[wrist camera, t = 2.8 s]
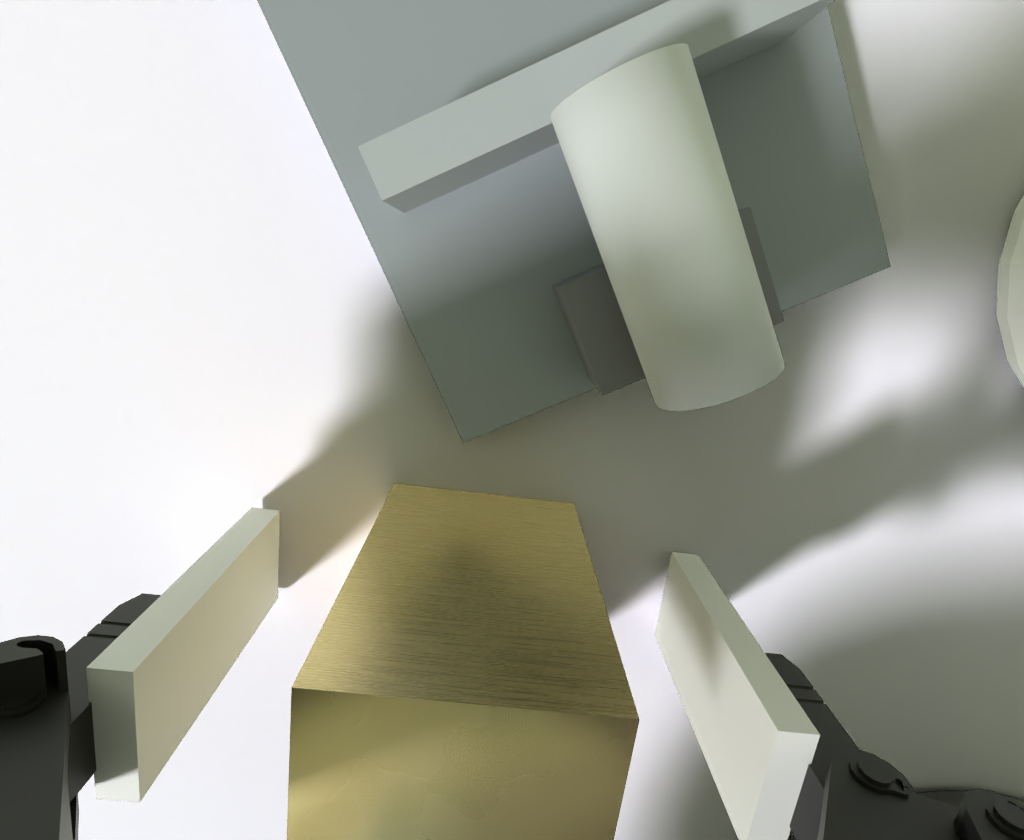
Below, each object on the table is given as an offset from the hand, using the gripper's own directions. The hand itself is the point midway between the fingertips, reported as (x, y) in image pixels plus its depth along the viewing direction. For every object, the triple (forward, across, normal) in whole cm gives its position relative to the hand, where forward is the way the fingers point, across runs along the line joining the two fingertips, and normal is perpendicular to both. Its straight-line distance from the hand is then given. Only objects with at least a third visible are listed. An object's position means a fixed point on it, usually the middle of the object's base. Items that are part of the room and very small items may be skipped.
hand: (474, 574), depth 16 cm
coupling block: (0, 0, 0) cm, 0 cm away
